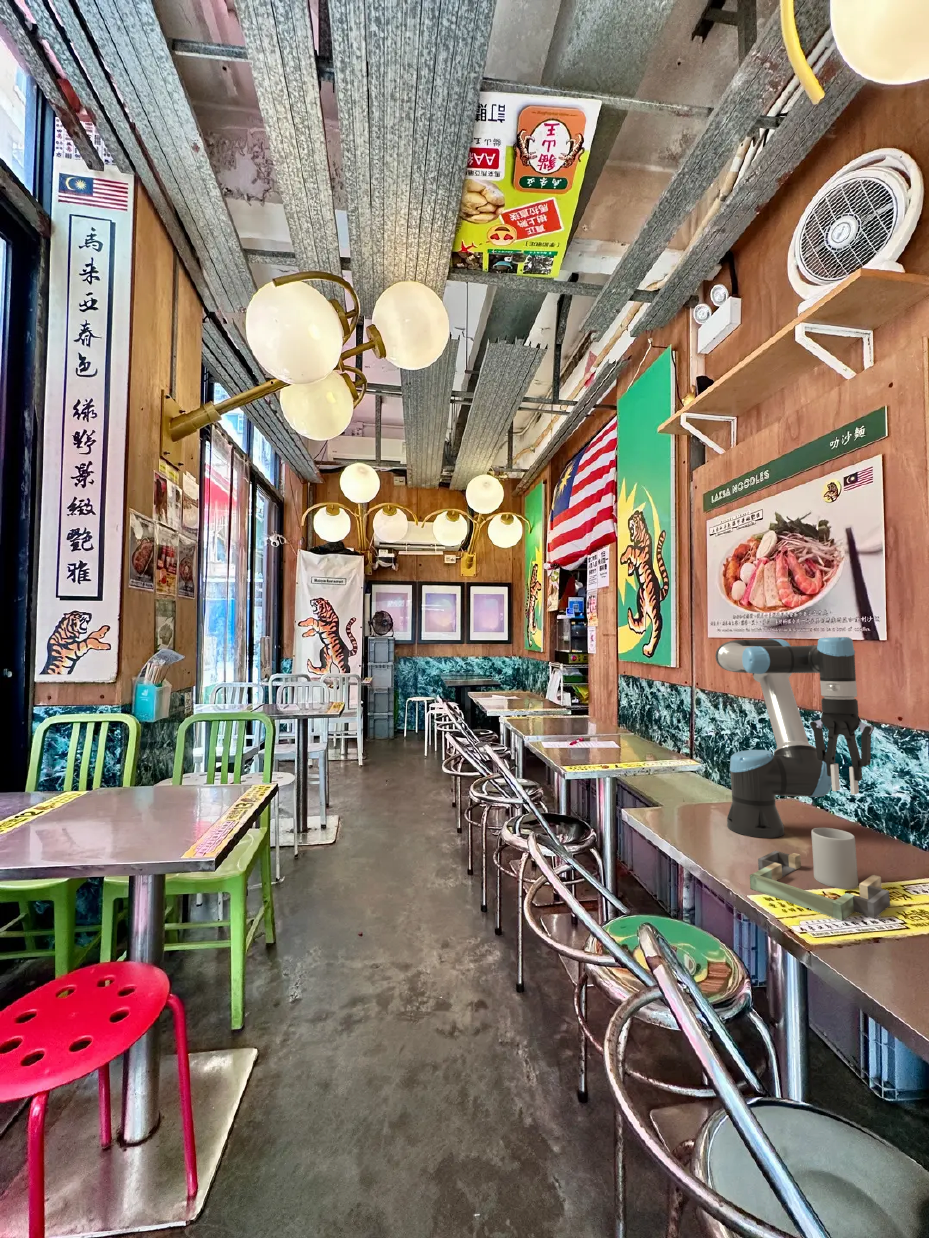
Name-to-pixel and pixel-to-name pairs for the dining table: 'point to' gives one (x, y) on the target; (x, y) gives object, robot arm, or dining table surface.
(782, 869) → the grey-green u-shaped bracket
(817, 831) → the mug
